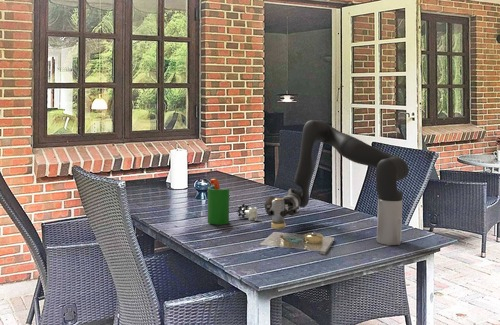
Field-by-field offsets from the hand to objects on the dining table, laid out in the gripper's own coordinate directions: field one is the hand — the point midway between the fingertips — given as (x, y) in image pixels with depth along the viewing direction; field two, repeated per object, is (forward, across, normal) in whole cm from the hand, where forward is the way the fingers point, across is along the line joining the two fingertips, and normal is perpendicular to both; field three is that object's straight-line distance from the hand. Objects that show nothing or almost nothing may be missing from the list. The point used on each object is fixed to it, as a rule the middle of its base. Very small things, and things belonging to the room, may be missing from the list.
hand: (276, 214), depth 209 cm
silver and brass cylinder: (-3, 0, +6) cm, 7 cm away
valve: (-27, -21, +11) cm, 36 cm away
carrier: (+2, +9, +11) cm, 14 cm away
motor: (-19, -33, +10) cm, 39 cm away
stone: (-49, -16, +11) cm, 53 cm away
